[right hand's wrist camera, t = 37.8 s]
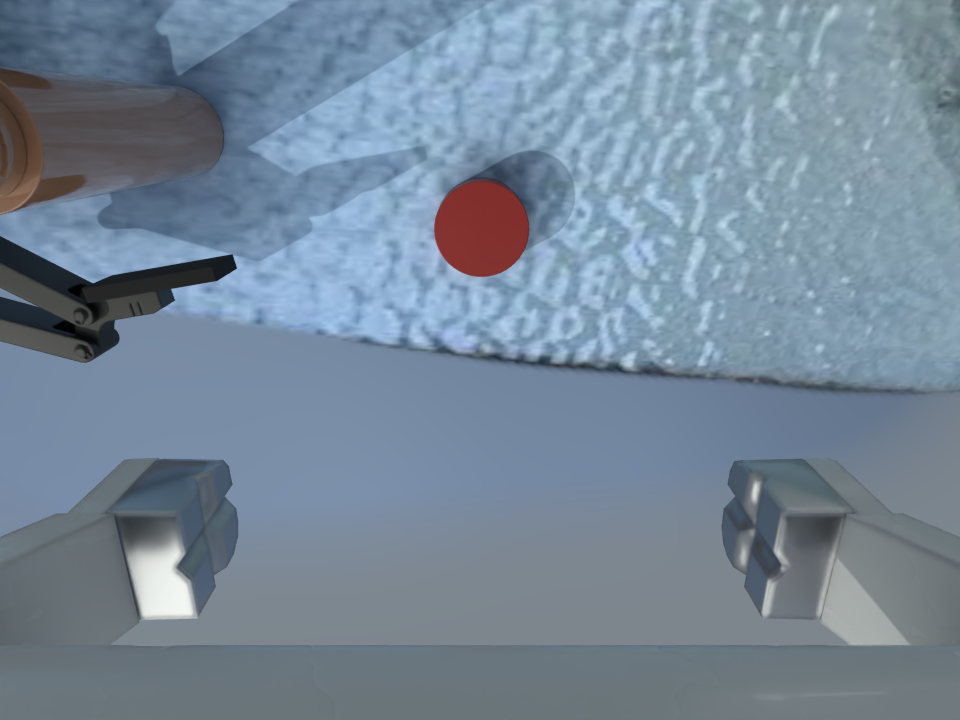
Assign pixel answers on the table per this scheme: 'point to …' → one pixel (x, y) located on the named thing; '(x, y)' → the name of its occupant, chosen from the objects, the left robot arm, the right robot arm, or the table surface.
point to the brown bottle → (97, 136)
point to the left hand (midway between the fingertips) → (180, 122)
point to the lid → (481, 227)
